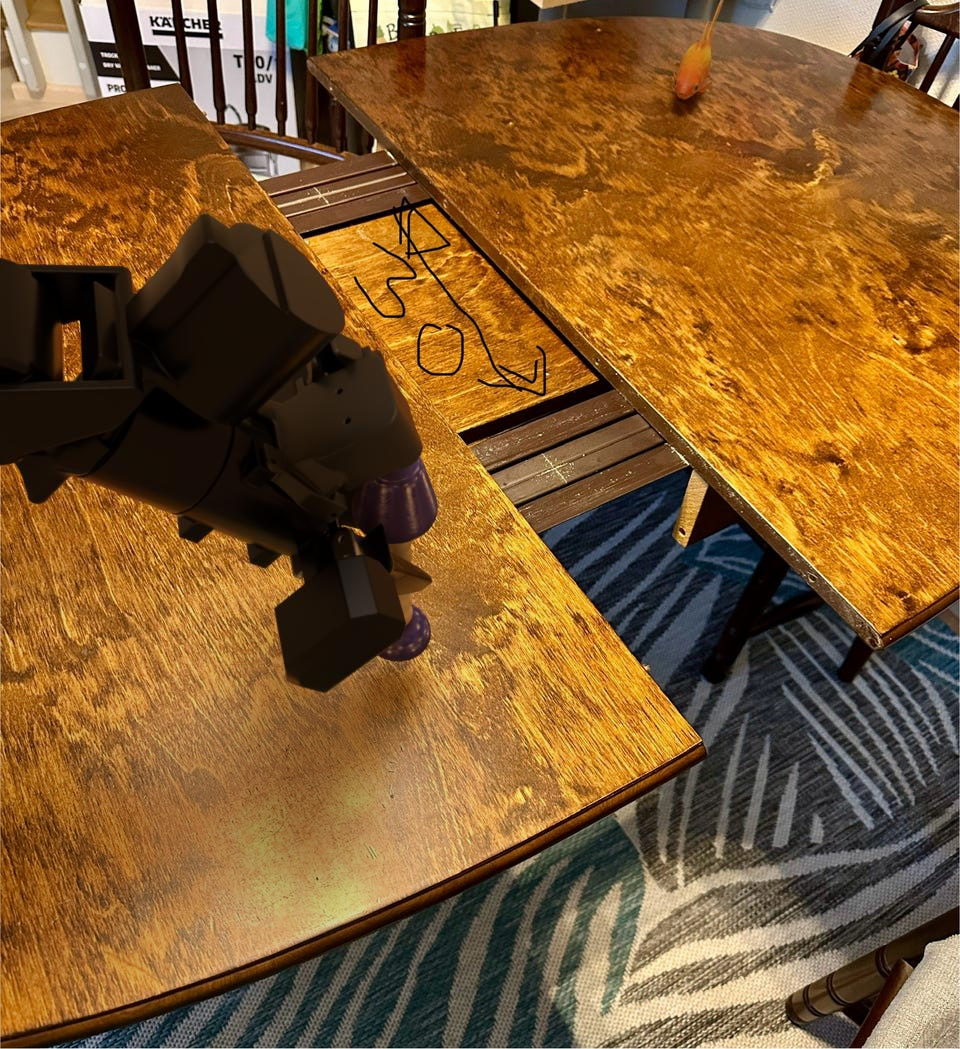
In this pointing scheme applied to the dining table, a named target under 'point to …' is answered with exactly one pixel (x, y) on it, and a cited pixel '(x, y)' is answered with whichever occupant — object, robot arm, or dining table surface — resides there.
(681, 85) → the fish
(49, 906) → the dining table surface
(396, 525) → the toy lamp
